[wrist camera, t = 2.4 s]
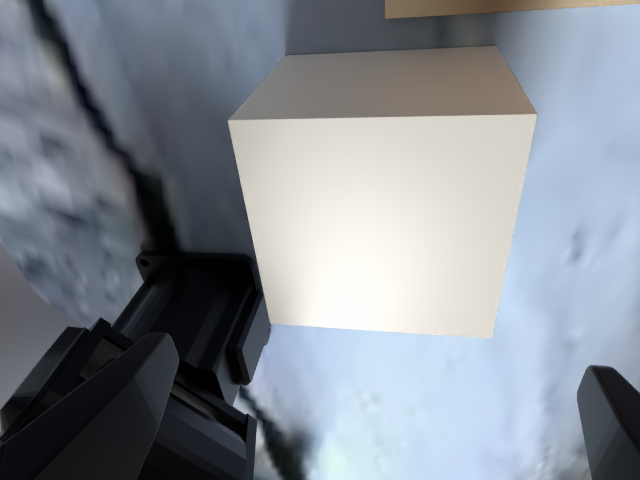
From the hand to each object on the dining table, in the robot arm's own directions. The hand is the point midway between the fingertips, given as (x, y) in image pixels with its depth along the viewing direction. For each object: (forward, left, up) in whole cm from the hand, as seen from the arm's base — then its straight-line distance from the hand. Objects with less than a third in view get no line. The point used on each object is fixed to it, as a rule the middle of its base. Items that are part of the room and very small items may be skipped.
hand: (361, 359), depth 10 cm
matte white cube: (0, 0, -11) cm, 11 cm away
